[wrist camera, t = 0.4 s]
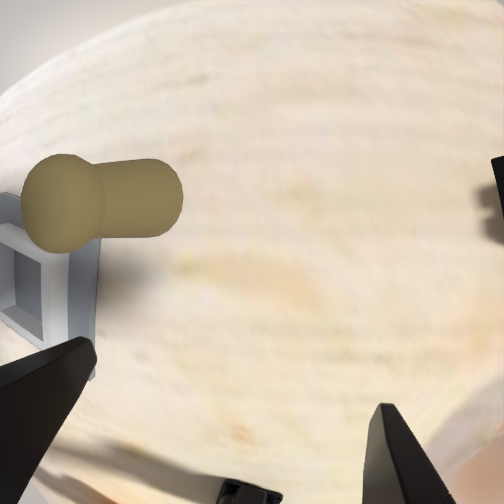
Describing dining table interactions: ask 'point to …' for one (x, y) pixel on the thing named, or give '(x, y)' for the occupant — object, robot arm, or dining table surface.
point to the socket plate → (45, 284)
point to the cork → (98, 201)
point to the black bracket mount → (499, 177)
